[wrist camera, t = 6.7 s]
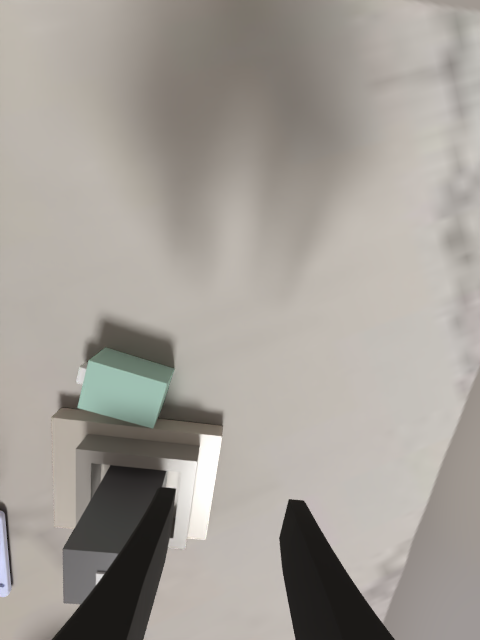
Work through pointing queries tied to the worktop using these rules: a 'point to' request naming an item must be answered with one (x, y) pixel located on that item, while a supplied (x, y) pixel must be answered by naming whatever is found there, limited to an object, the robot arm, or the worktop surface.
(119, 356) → the cable plug
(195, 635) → the worktop surface
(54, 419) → the plate
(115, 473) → the block
